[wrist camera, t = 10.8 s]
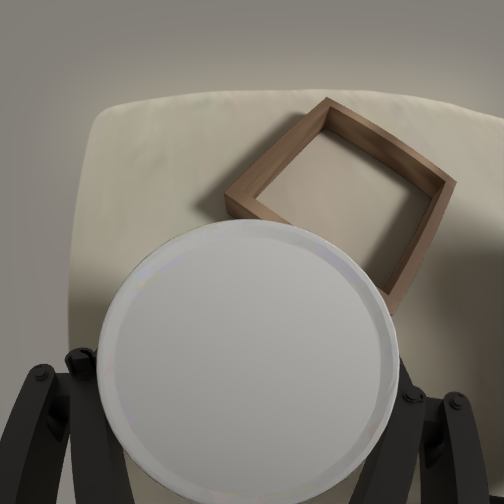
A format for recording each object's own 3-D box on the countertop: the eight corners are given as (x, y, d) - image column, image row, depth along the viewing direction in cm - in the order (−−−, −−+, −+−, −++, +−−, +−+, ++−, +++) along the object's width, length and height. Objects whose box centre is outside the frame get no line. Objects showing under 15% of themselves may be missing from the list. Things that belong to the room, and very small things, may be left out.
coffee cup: (200, 286, 21) (145, 185, 10) (335, 316, 20) (422, 246, 9) (164, 416, 18) (61, 454, 6) (304, 451, 17) (363, 533, 6)
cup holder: (442, 197, 26) (456, 181, 24) (376, 322, 22) (392, 315, 19) (322, 117, 30) (326, 96, 27) (227, 212, 26) (224, 192, 23)
